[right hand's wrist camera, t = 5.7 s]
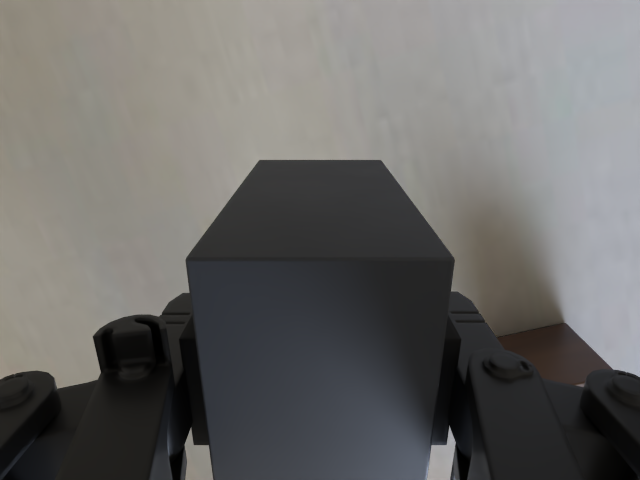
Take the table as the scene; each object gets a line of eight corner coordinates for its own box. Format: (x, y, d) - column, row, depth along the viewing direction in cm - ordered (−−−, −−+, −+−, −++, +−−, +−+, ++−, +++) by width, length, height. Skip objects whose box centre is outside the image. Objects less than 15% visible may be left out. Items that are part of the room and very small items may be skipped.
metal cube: (483, 339, 26) (518, 395, 21) (565, 322, 26) (620, 375, 21) (493, 402, 28) (528, 466, 23) (570, 386, 27) (621, 449, 23)
